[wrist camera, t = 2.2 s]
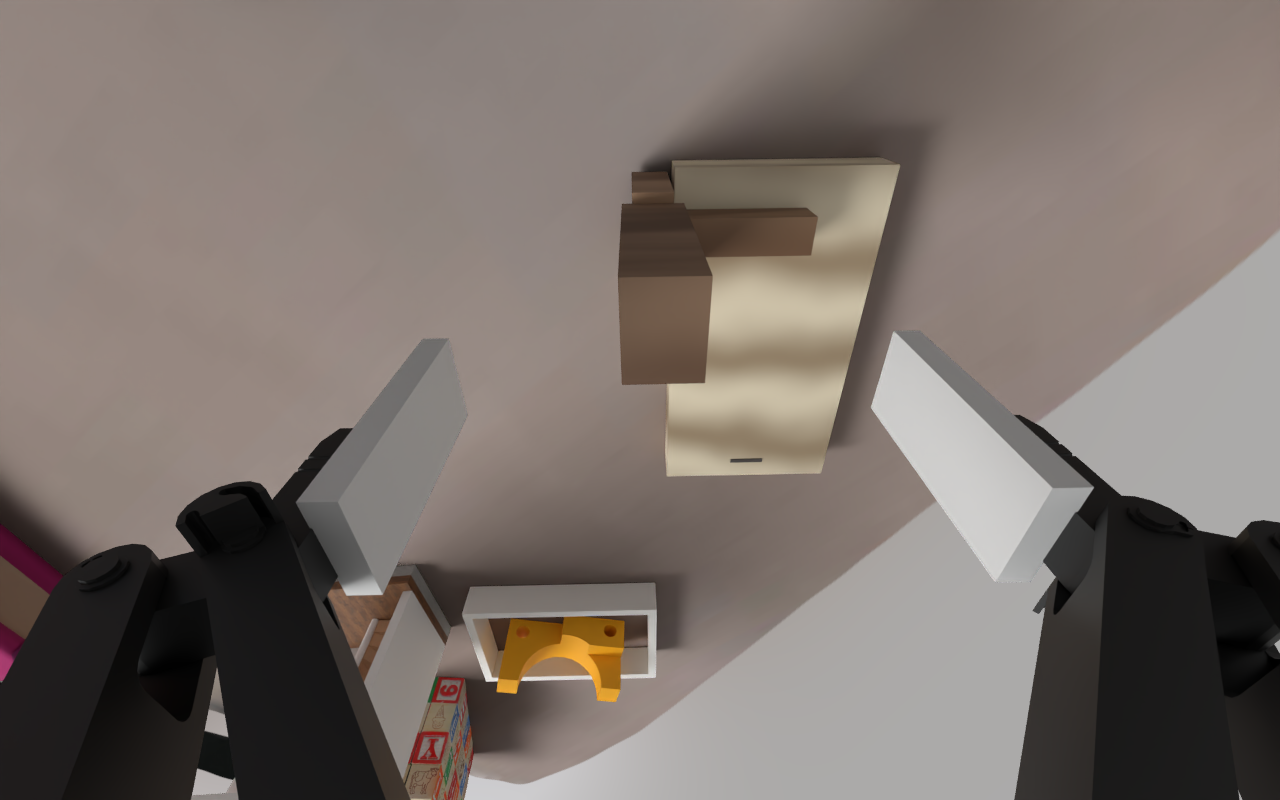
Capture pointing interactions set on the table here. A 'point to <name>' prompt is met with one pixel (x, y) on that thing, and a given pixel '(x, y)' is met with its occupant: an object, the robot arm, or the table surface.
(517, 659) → the pipe clamp
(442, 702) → the stack of blocks
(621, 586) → the clamp rest frame
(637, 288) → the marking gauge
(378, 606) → the white column with cutout
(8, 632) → the book
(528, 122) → the table surface
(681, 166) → the pine board
